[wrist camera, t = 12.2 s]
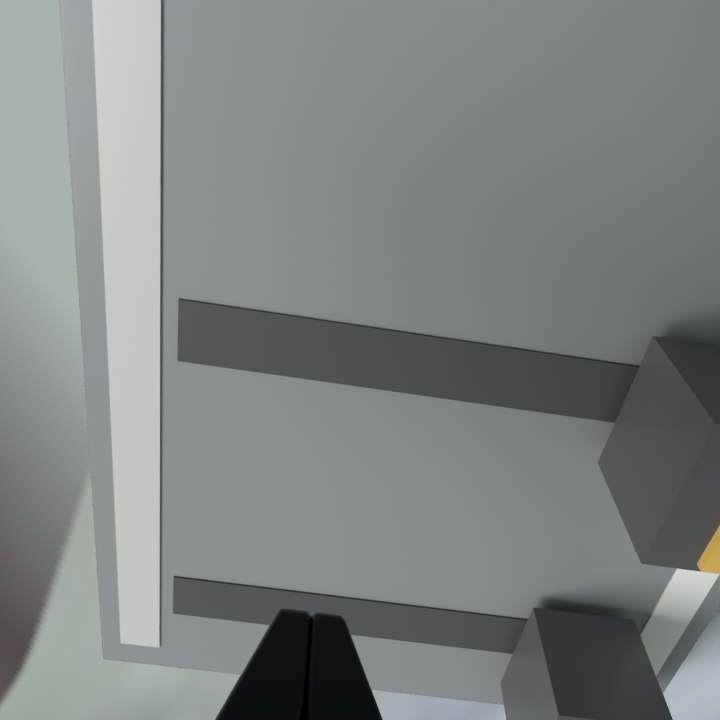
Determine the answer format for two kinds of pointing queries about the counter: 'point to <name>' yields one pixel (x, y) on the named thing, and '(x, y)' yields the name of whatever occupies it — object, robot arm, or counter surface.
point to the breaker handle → (670, 457)
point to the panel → (390, 329)
